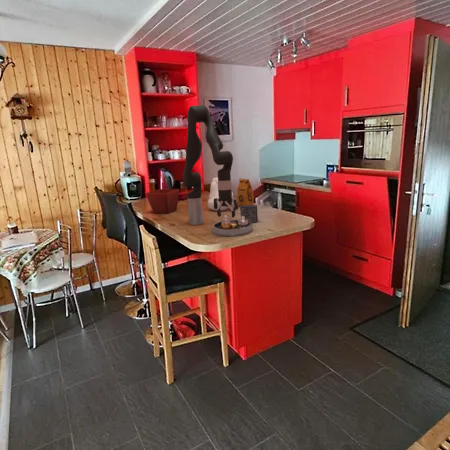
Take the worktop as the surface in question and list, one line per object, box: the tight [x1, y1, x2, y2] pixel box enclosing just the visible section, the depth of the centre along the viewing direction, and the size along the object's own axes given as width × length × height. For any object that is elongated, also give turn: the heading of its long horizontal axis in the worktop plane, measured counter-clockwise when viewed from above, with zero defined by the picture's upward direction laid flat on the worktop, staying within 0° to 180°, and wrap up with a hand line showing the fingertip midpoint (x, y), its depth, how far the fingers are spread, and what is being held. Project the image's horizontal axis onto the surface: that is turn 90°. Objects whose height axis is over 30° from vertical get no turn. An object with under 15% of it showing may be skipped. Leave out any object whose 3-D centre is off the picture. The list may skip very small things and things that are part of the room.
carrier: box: [212, 215, 253, 238], centre depth 198 cm, size 23×23×8 cm
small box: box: [239, 204, 259, 224], centre depth 217 cm, size 11×6×10 cm, turn 81°
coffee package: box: [236, 178, 255, 208], centre depth 263 cm, size 10×12×22 cm
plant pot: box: [145, 188, 180, 214], centre depth 265 cm, size 19×19×17 cm
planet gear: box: [221, 222, 233, 229], centre depth 193 cm, size 6×6×5 cm
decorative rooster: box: [207, 176, 234, 212], centre depth 255 cm, size 25×16×25 cm, turn 26°
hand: (226, 216), depth 191 cm, fingers open, 8 cm apart
